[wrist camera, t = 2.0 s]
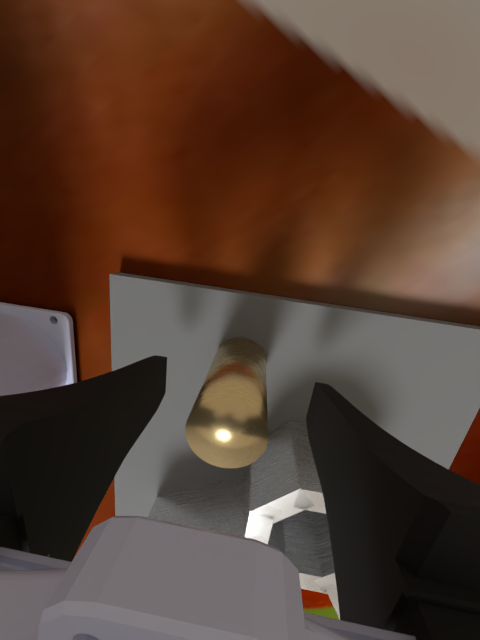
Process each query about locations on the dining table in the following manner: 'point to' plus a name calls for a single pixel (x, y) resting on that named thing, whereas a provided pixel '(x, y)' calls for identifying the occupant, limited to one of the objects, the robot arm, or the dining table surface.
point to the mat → (286, 372)
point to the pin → (231, 407)
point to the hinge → (267, 507)
